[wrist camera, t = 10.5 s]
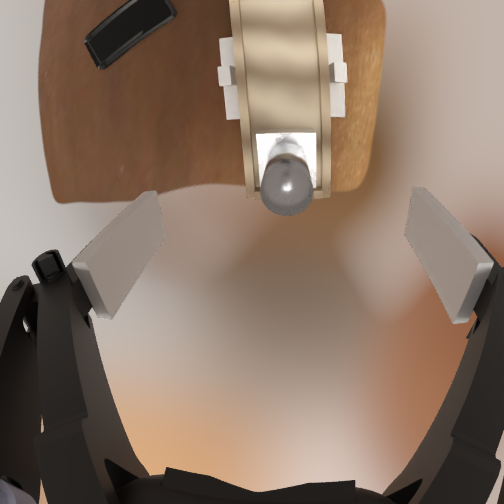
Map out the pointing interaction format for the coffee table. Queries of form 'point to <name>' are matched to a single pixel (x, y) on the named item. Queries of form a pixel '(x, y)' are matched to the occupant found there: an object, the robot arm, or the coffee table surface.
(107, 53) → the phone
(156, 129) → the coffee table surface
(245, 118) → the beam
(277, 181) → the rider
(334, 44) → the stand
